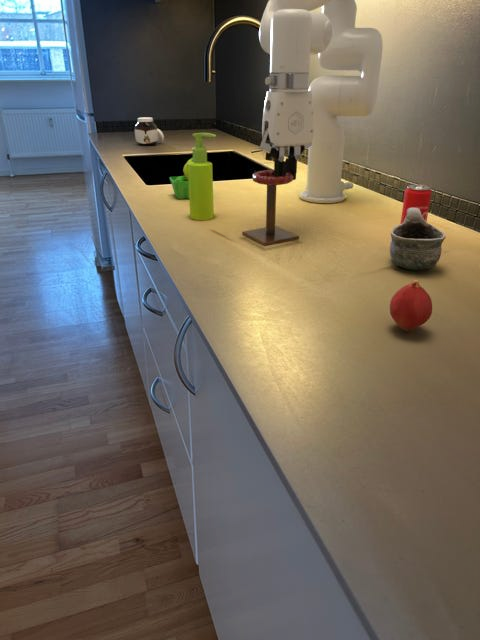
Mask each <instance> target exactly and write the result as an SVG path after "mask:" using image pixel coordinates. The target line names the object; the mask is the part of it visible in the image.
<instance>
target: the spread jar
mask: <svg viewBox="0 0 480 640" xmlns="http://www.w3.org/2000/svg"><path fill="white" fill-rule="evenodd" d="M134 138H135V142H136V144H138V145H139V146H141V147H153V146H155V145H156V144H162V143H163V142H164V141H165V135H164V133H163V131H162V130H161V129H159V128H158V126H157V125H156V123H155V122H154V118H153V117H150V116H148V117H147V116H146V117H145V116H144V117H138V118H137V123H136V124H135V126H134Z"/></svg>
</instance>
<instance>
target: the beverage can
mask: <svg viewBox="0 0 480 640" xmlns="http://www.w3.org/2000/svg"><path fill="white" fill-rule="evenodd" d="M431 189H432V187H431V186H429V185H425V184H408V185H407V186H406V189H405V190H404V196H403V204H402V209H401V210H402V211H401V217H400V224H402V223H403V222H404V220H405V218H406V212H407V209H409V208H418V209H420V212H421V215H422V217H423V219H424V220H425V221H426V222H427V223H428V216H429V210H430V203H431V197H432V190H431ZM400 224H399V225H400Z"/></svg>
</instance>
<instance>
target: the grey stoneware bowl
mask: <svg viewBox="0 0 480 640" xmlns="http://www.w3.org/2000/svg"><path fill="white" fill-rule="evenodd" d="M446 236H447V235H446V234H445V233H444V232H443V231H440V229H438V228H437V227H436V226H434V225H432V224H430V223H428V221H427V222H426V221H425V220H424V219H423V217H422V215H421V212H420V209H418V208H409V209H407V212H406V218H405V220H404V222H403V223H402V224H398V225H395V226H393V227H392V228H391V230H390V237H391V241H390V243H389V244H390V245H389V255H390V258H391V259H392V261H393V262H394V263H395V264H396V265H397V266H399V268H400V267H401V268H403V269H406V270H410V271H423V270H428V269H430V268H432V267H434V266H436V265H437V264H438V262H439V260H441V259H440V258H441V256H442V251H443V249H442V248H443V247H442V244H443V243H444V241H445V239H446Z"/></svg>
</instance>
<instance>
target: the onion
mask: <svg viewBox="0 0 480 640" xmlns="http://www.w3.org/2000/svg"><path fill="white" fill-rule="evenodd" d="M432 313H433V301H432V298H431V295H430V294H429V293H428V292H427V290H426V289H425V288H424V287H423V286H421V285H420V281H419V280H417V279H416V280H415V279H414V280H412V281H411V282H410V283H408V284H406V285H404V286H402V287H400V289H398V290H397V291H396V292H395V293H394V294H393V296H391V299H390V302H389V314H390V317H391V318H392V319H393V321H394V322H395V323H396V324H397V325H398V326H399V327H400V328H402V330H403V331H404V332H412V331H414V330H415V329H417V328H418V327H421V326H422V325H424V324H426V323H427V322H428V321H429V320H430V318H431V316H432Z"/></svg>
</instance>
